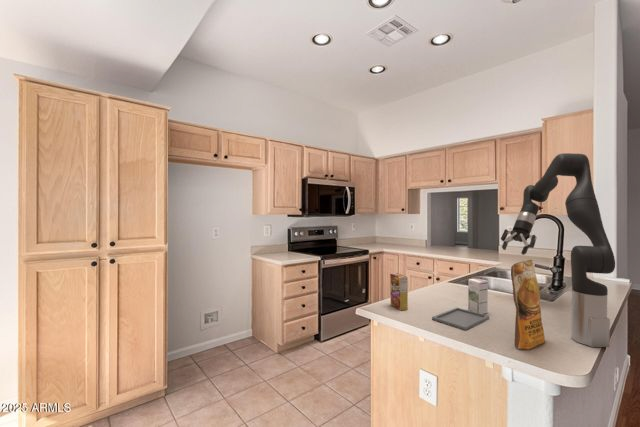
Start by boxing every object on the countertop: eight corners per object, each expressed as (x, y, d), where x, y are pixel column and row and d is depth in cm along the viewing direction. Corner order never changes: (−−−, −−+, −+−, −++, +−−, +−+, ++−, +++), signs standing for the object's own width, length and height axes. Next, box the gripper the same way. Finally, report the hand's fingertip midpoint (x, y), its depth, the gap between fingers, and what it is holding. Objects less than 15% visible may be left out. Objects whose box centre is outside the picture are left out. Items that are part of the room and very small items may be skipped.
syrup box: (488, 313, 133) (488, 280, 133) (478, 314, 131) (478, 281, 131) (477, 309, 138) (477, 277, 138) (467, 310, 136) (467, 278, 136)
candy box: (389, 304, 145) (389, 273, 144) (397, 303, 146) (397, 272, 146) (399, 310, 136) (400, 277, 136) (408, 309, 137) (408, 276, 137)
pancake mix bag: (502, 345, 102) (502, 262, 101) (530, 333, 111) (531, 258, 111) (523, 353, 96) (524, 266, 95) (551, 340, 106) (552, 260, 105)
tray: (456, 310, 137) (456, 307, 137) (489, 318, 126) (489, 316, 126) (432, 319, 125) (432, 316, 125) (465, 330, 114) (465, 327, 114)
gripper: (506, 216, 154) (495, 245, 152) (539, 222, 143) (527, 253, 141) (511, 222, 159) (500, 250, 157) (543, 228, 147) (531, 258, 145)
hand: (513, 251), depth 149 cm, fingers open, 8 cm apart
